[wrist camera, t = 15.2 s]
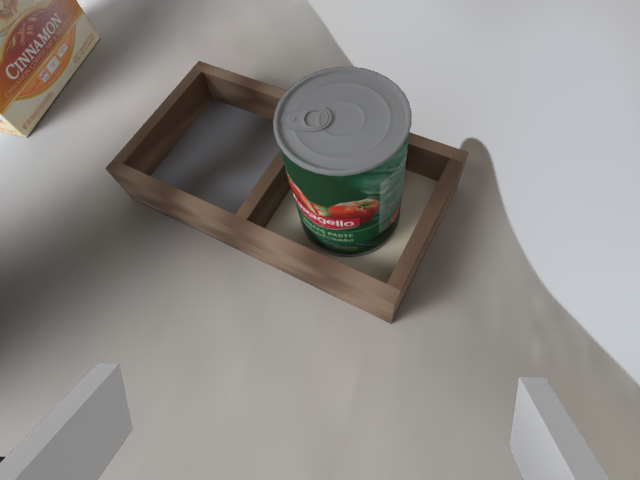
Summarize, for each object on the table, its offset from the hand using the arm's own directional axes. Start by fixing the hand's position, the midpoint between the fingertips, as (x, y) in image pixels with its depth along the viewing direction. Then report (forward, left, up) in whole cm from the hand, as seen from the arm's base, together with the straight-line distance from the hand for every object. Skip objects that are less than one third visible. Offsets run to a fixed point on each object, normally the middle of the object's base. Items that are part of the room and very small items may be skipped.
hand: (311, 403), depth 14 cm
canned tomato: (-7, +14, -15) cm, 22 cm away
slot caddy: (-13, +15, -16) cm, 25 cm away
